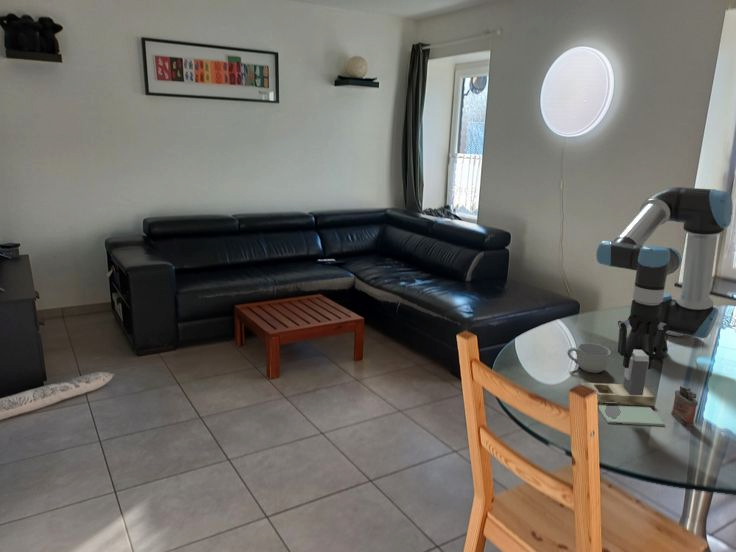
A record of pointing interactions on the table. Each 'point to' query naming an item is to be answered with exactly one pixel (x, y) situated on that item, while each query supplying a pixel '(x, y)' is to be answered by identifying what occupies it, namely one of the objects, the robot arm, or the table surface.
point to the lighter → (684, 406)
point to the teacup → (591, 357)
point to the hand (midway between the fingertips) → (634, 378)
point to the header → (620, 394)
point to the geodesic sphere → (674, 333)
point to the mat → (633, 416)
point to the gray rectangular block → (637, 373)
